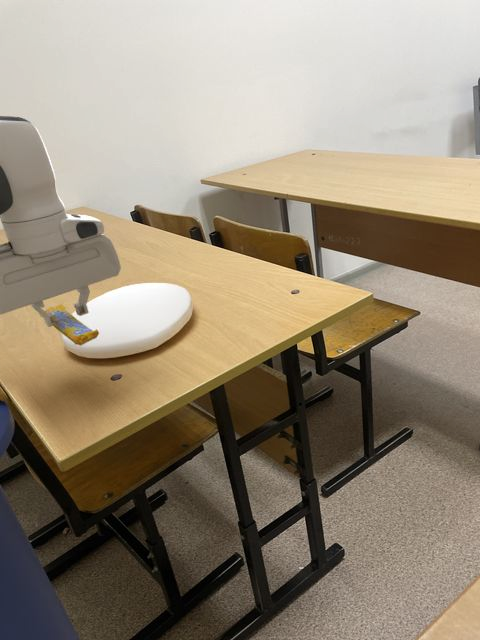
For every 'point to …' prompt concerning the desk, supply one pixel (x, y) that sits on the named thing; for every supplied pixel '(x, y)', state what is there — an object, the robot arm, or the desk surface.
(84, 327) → the candy bar
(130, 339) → the plate
